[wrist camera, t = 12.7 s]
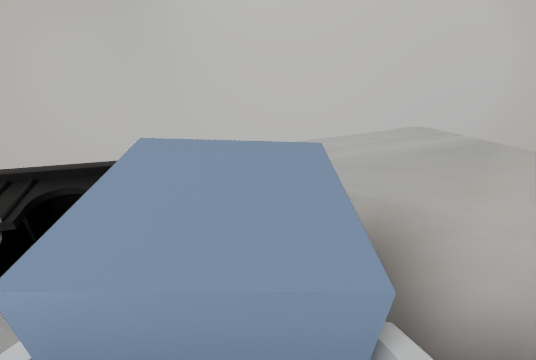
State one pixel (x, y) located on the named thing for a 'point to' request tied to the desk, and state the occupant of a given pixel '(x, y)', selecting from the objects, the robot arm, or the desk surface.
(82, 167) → the end cap
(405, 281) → the desk surface
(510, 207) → the desk surface
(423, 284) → the desk surface
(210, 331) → the tall pale blue prism
